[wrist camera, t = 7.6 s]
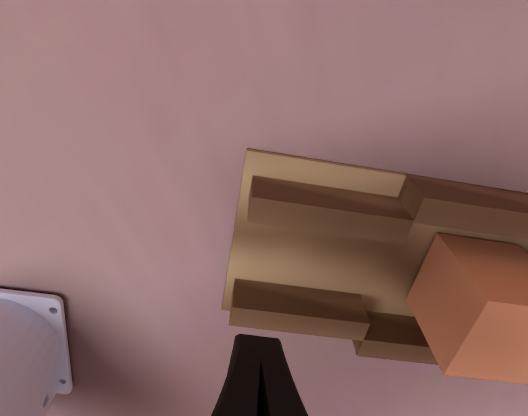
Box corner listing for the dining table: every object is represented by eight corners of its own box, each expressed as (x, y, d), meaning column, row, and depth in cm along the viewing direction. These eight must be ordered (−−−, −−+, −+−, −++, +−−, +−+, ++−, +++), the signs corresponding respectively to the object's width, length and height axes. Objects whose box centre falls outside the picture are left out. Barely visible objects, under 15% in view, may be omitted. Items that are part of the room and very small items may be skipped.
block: (480, 308, 24) (534, 384, 19) (406, 298, 24) (443, 374, 19) (518, 244, 22) (591, 314, 17) (437, 233, 21) (488, 300, 17)
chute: (492, 338, 26) (515, 373, 24) (221, 306, 25) (217, 340, 22) (582, 202, 21) (624, 228, 19) (246, 148, 19) (245, 169, 17)
